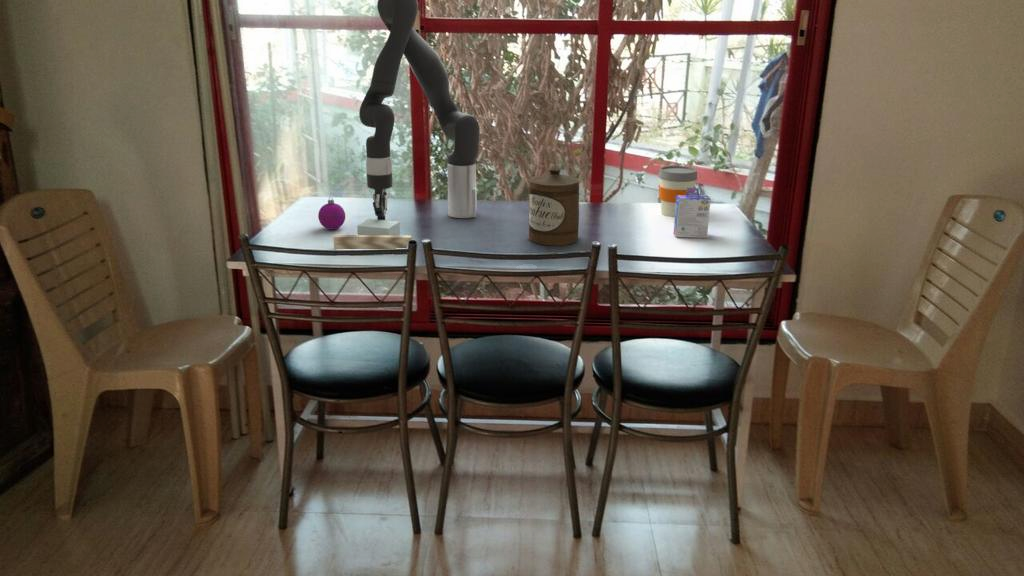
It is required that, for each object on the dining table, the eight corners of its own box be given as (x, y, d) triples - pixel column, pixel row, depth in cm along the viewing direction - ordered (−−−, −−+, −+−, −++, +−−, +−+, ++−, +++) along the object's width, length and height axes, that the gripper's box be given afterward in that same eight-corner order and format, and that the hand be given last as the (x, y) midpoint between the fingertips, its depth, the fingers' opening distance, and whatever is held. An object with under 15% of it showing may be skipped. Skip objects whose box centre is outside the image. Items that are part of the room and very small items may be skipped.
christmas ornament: (316, 232, 254) (313, 200, 251) (323, 225, 262) (321, 193, 259) (342, 232, 254) (340, 200, 251) (348, 225, 262) (347, 194, 258)
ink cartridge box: (704, 233, 258) (708, 187, 253) (708, 238, 252) (712, 191, 247) (672, 232, 258) (675, 186, 253) (675, 238, 252) (679, 191, 247)
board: (412, 248, 239) (411, 235, 238) (411, 251, 237) (410, 237, 236) (335, 248, 239) (334, 234, 238) (334, 250, 237) (333, 236, 236)
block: (400, 237, 251) (399, 221, 249) (389, 245, 244) (388, 228, 242) (369, 234, 253) (368, 218, 252) (358, 242, 246) (357, 225, 244)
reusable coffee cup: (648, 212, 280) (651, 168, 275) (673, 207, 288) (677, 164, 283) (676, 220, 271) (679, 175, 266) (701, 214, 278) (705, 170, 273)
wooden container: (518, 239, 250) (519, 166, 242) (549, 229, 260) (551, 159, 253) (557, 249, 241) (560, 174, 233) (587, 238, 251) (591, 166, 244)
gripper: (388, 176, 242) (390, 233, 248) (395, 166, 254) (397, 221, 260) (362, 176, 242) (365, 233, 248) (370, 166, 254) (373, 221, 260)
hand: (381, 227), depth 254 cm, fingers closed
